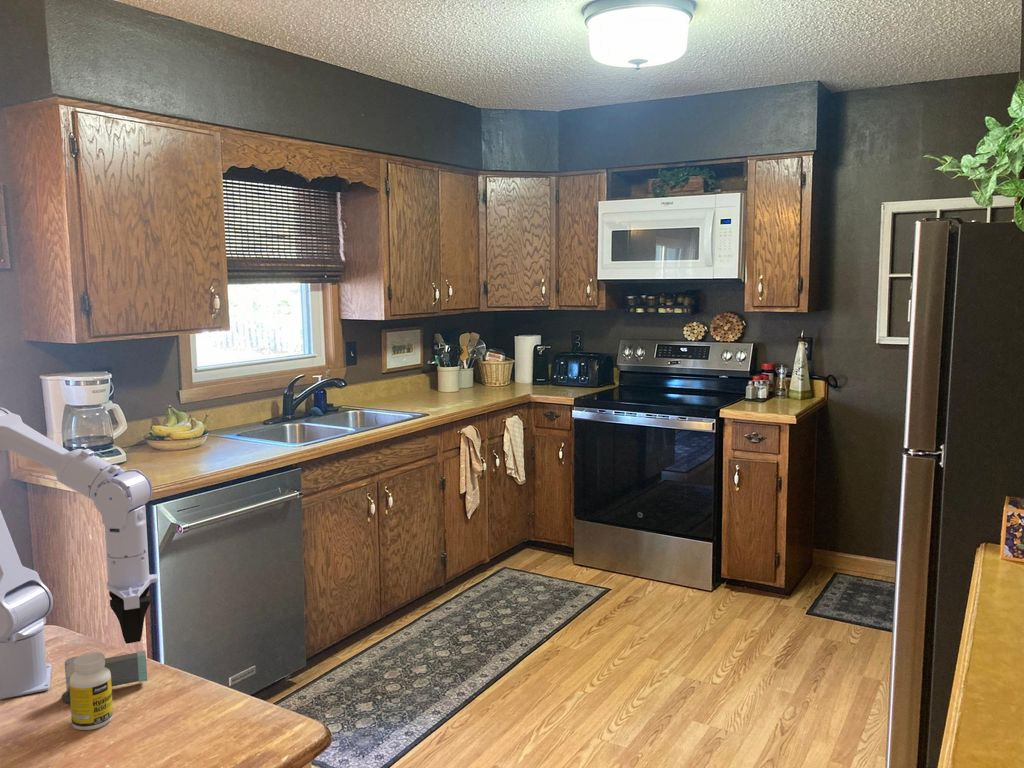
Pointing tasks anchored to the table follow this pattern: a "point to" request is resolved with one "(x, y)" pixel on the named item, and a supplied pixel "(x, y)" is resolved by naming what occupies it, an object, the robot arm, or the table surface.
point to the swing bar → (117, 669)
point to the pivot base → (66, 698)
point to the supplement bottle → (90, 692)
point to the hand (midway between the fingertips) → (132, 637)
